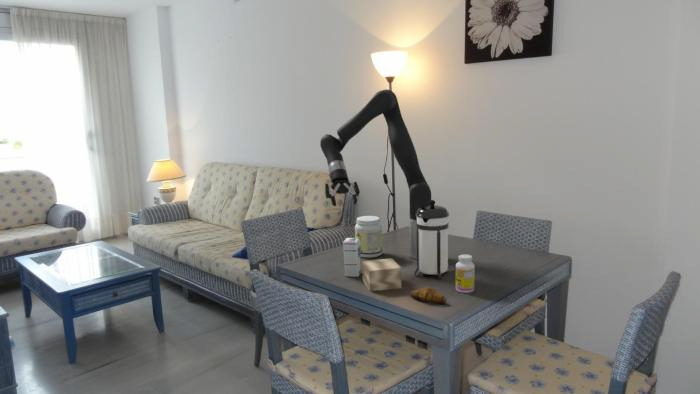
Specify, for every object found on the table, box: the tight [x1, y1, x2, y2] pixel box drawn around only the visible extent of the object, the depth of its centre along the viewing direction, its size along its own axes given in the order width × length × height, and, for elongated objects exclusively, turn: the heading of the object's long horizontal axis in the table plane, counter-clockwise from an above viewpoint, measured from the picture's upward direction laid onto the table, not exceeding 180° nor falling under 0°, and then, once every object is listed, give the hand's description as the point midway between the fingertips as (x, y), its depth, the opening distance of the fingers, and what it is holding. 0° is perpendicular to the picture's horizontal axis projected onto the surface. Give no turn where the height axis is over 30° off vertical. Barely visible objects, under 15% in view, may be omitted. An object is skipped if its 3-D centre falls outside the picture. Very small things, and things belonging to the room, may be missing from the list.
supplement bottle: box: [455, 253, 476, 294], centre depth 181 cm, size 7×7×13 cm
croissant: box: [409, 286, 447, 305], centre depth 174 cm, size 14×7×5 cm, turn 55°
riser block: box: [361, 257, 402, 292], centre depth 190 cm, size 12×12×8 cm
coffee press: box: [413, 199, 451, 281], centre depth 199 cm, size 17×16×30 cm
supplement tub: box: [354, 215, 383, 259], centre depth 227 cm, size 12×12×17 cm
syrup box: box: [342, 237, 362, 278], centre depth 202 cm, size 6×6×14 cm
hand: (345, 204), depth 209 cm, fingers open, 8 cm apart
